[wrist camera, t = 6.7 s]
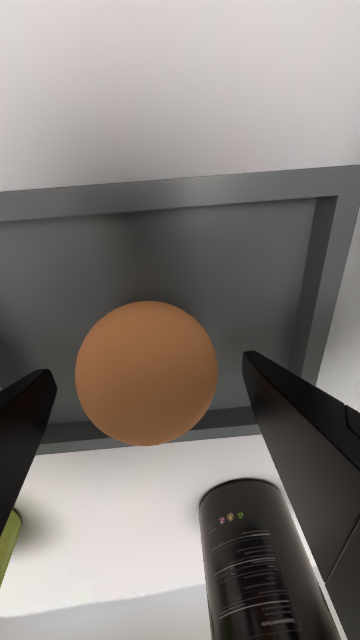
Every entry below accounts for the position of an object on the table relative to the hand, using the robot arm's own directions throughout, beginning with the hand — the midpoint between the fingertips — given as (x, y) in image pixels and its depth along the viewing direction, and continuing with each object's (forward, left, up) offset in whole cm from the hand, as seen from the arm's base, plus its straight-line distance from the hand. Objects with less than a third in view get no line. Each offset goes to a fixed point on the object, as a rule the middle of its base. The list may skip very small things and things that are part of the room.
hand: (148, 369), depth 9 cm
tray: (0, 0, -3) cm, 3 cm away
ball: (0, 0, 0) cm, 0 cm away
